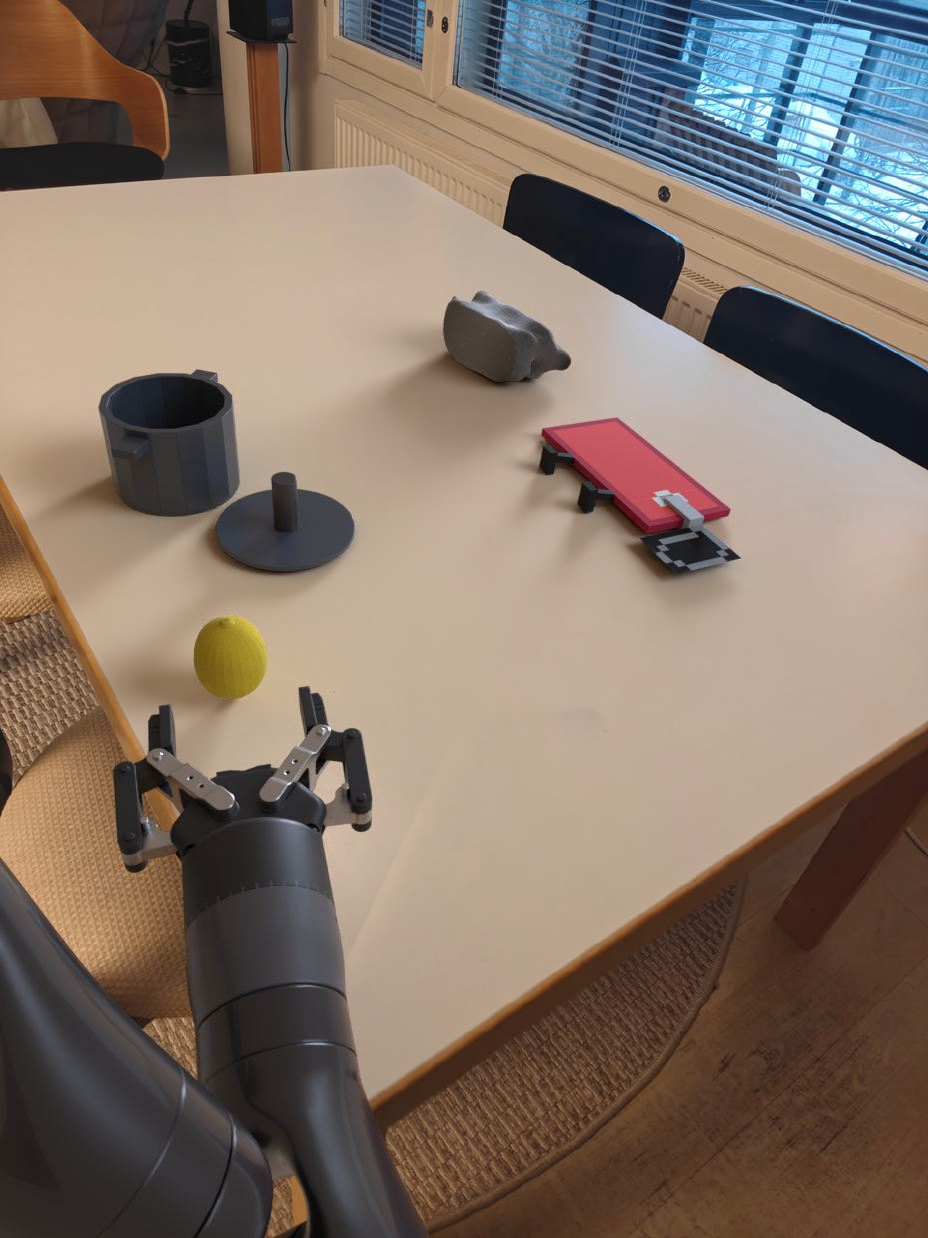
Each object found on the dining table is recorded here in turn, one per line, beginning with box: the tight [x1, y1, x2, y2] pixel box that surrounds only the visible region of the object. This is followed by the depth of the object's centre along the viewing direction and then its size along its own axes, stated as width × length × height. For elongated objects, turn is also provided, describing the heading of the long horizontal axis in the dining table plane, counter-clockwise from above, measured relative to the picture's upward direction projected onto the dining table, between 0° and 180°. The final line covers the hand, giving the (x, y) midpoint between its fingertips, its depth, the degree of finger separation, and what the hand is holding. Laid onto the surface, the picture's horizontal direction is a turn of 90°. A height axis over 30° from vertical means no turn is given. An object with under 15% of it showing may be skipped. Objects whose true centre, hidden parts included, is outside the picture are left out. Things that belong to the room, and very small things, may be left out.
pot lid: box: [215, 471, 356, 572], centre depth 84 cm, size 14×14×7 cm
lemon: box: [193, 614, 268, 700], centre depth 67 cm, size 6×6×8 cm
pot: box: [97, 368, 241, 517], centre depth 89 cm, size 13×18×10 cm
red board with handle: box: [538, 416, 742, 575], centre depth 97 cm, size 30×3×15 cm
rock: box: [442, 290, 572, 383], centre depth 119 cm, size 18×11×8 cm, turn 40°
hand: (236, 704), depth 55 cm, fingers open, 8 cm apart
